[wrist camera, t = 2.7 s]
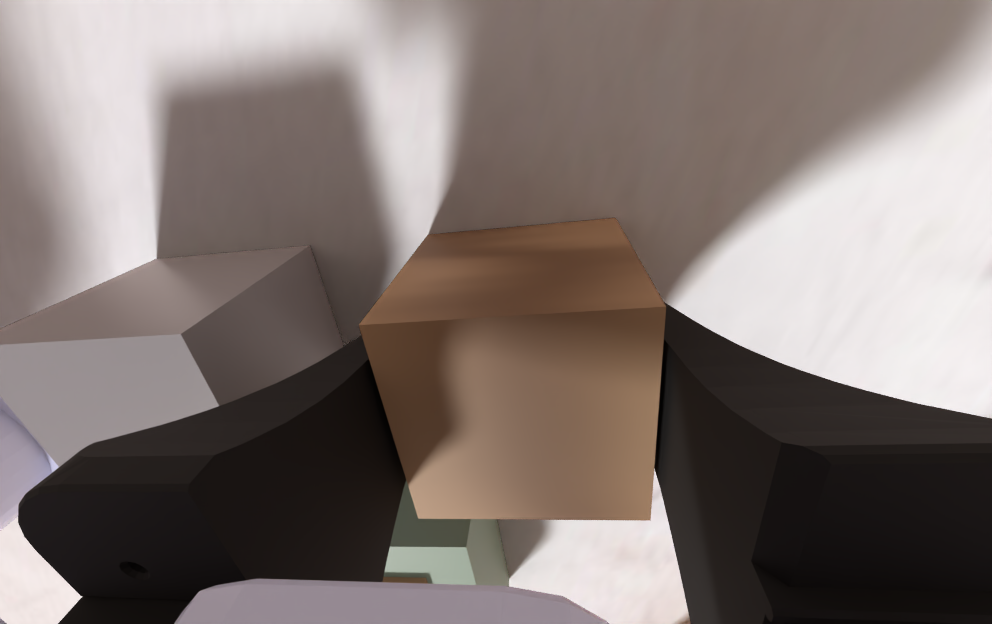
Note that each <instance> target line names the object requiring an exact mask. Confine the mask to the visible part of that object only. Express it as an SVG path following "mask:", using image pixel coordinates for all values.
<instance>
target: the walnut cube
mask: <svg viewBox="0 0 992 624" xmlns="http://www.w3.org/2000/svg"><path fill="white" fill-rule="evenodd" d="M665 316H666V305H665V304H664V302H663V300H662V298H661V297H660V295H659V293H658V291H657V290H656V288H655V286H654V284H653V283H652V281H651V279H650V277H649V276H648V274H647V272H646V270H645V269H644V267H643V265H642V263H641V261H640V260H639V258H638V256H637V254H636V253H635V251H634V249H633V247H632V246H631V244H630V242H629V240H628V239H627V237H626V235H625V233H624V232H623V230H622V228H621V226H620V225H619V223H618V221H617V219H616V218H608V219H596V220H585V221H574V222H563V223H552V224H541V225H530V226H519V227H507V228H496V229H485V230H474V231H463V232H452V233H441V234H430V235H427V237H426V238H425V239H424V241H423V242H422V243H421V244H420V246H419V247H418V248H417V250H416V251H415V252H414V254H413V255H412V256H411V257H410V259H409V260H408V261H407V263H406V264H405V265H404V267H403V268H402V269H401V270H400V272H399V273H398V274H397V276H396V277H395V278H394V280H393V281H392V282H391V283H390V285H389V286H388V287H387V289H386V290H385V291H384V293H383V294H382V295H381V297H380V298H379V299H378V300H377V302H376V303H375V304H374V306H373V307H372V308H371V310H370V311H369V312H368V313H367V315H366V316H365V317H364V319H363V320H362V321H361V323H360V324H359V328H360V332H361V335H362V338H363V341H364V345H365V348H366V351H367V354H368V357H369V361H370V364H371V367H372V370H373V374H374V377H375V380H376V383H377V387H378V390H379V393H380V396H381V400H382V403H383V406H384V409H385V412H386V416H387V419H388V422H389V425H390V429H391V432H392V435H393V438H394V442H395V445H396V448H397V451H398V454H399V458H400V461H401V464H402V467H403V471H404V474H405V477H406V480H407V484H408V487H409V490H410V493H411V497H412V500H413V503H414V506H415V509H416V513H417V516H418V519H536V520H650V518H651V504H652V491H653V477H654V464H655V450H656V437H657V424H658V410H659V397H660V383H661V370H662V356H663V343H664V329H665Z"/></svg>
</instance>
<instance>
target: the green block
mask: <svg viewBox="0 0 992 624" xmlns="http://www.w3.org/2000/svg"><path fill="white" fill-rule="evenodd" d="M383 582H389V583H422V584H456V585H490V586H509V576H508V571H507V566H506V561H505V556H504V551H503V546H502V541H501V536H500V531H499V526H498V521H497V519H418V516H417V513H416V509H415V506H414V503H413V500H412V497H411V493H410V490H409V487H408V484H407V480H406V482H405V486H404V489H403V493H402V497H401V501H400V505H399V509H398V513H397V517H396V521H395V526H394V530H393V535H392V539H391V544H390V548H389V553H388V557H387V562H386V567H385V572H384V577H383Z"/></svg>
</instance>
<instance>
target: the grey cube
mask: <svg viewBox="0 0 992 624" xmlns="http://www.w3.org/2000/svg"><path fill="white" fill-rule="evenodd" d="M342 347H344V345H343V342H342V339H341V336H340V333H339V330H338V327H337V324H336V321H335V318H334V315H333V312H332V309H331V306H330V303H329V300H328V297H327V294H326V291H325V288H324V285H323V282H322V279H321V276H320V273H319V270H318V267H317V264H316V261H315V258H314V255H313V252H312V249H311V246H310V245H307V246H296V247H284V248H273V249H262V250H250V251H239V252H228V253H216V254H205V255H194V256H182V257H171V258H160V259H155V260H153V261H151V262H148V263H146V264H144V265H142V266H139V267H137V268H135V269H133V270H130V271H128V272H126V273H124V274H122V275H119V276H117V277H115V278H113V279H110V280H108V281H106V282H104V283H101V284H99V285H97V286H95V287H93V288H90V289H88V290H86V291H84V292H81V293H79V294H77V295H75V296H72V297H70V298H68V299H66V300H64V301H61V302H59V303H57V304H55V305H52V306H50V307H48V308H46V309H43V310H41V311H39V312H37V313H34V314H32V315H30V316H28V317H26V318H23V319H21V320H19V321H17V322H14V323H12V324H10V325H8V326H5V327H3V328H1V329H0V397H1V398H2V399H3V400H4V402H5V403H6V404H7V405H8V406H9V408H10V409H11V410H12V411H13V412H14V414H15V415H16V416H17V417H18V418H19V420H20V421H21V422H22V423H23V424H24V426H25V427H26V428H27V429H28V430H29V432H30V433H31V434H32V435H33V436H34V438H35V439H36V440H37V441H38V442H39V444H40V445H41V446H42V447H43V448H44V450H45V451H46V452H47V453H48V454H49V455H50V457H51V458H52V459H53V460H54V461H55V463H56V464H57V465H58V466H59V467H60V466H61V465H63V464H64V463H65V462H66V461H68V460H69V459H70V458H71V457H73V456H74V455H75V454H76V453H78V452H79V451H80V450H82V449H83V448H85V447H87V446H88V445H90V444H92V443H94V442H98V441H102V440H107V439H111V438H114V437H118V436H122V435H125V434H129V433H133V432H137V431H140V430H144V429H148V428H151V427H155V426H159V425H162V424H166V423H169V422H172V421H176V420H179V419H182V418H185V417H188V416H191V415H194V414H198V413H201V412H204V411H207V410H209V409H212V408H215V407H218V406H221V405H223V404H226V403H229V402H232V401H234V400H237V399H239V398H242V397H244V396H246V395H249V394H251V393H254V392H256V391H258V390H261V389H263V388H266V387H268V386H271V385H273V384H275V383H277V382H280V381H282V380H284V379H286V378H288V377H290V376H292V375H294V374H296V373H298V372H300V371H302V370H304V369H306V368H308V367H310V366H312V365H313V364H315V363H317V362H319V361H321V360H322V359H324V358H326V357H327V356H329V355H331V354H332V353H334V352H336V351H337V350H339V349H341V348H342Z"/></svg>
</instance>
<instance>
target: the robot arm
mask: <svg viewBox="0 0 992 624" xmlns="http://www.w3.org/2000/svg"><path fill="white" fill-rule="evenodd" d="M664 304H665V305H666V316H665V329H664V343H663V356H662V370H661V383H660V397H659V410H658V424H657V437H656V450H655V464H654V468H655V472H656V475H657V478H658V481H659V485H660V488H661V492H662V496H663V500H664V505H665V509H666V513H667V517H668V521H669V525H670V530H671V534H672V539H673V543H674V547H675V552H676V556H677V561H678V565H679V570H680V574H681V579H682V584H683V588H684V593H685V598H686V603H687V607H688V612H689V617H690V622H691V624H992V419H991V418H986V417H981V416H976V415H971V414H966V413H961V412H956V411H951V410H946V409H941V408H936V407H931V406H926V405H921V404H917V403H913V402H908V401H904V400H900V399H897V398H893V397H889V396H885V395H881V394H877V393H873V392H869V391H865V390H862V389H858V388H855V387H851V386H848V385H844V384H841V383H837V382H834V381H831V380H828V379H825V378H822V377H819V376H816V375H813V374H810V373H807V372H804V371H801V370H798V369H795V368H793V367H790V366H787V365H784V364H782V363H779V362H777V361H774V360H772V359H770V358H767V357H765V356H762V355H760V354H758V353H755V352H753V351H751V350H748V349H746V348H744V347H742V346H740V345H738V344H736V343H734V342H732V341H730V340H728V339H726V338H724V337H722V336H720V335H718V334H716V333H714V332H713V331H711V330H709V329H707V328H706V327H704V326H702V325H700V324H699V323H697V322H695V321H694V320H692V319H690V318H689V317H687V316H685V315H684V314H682V313H681V312H679V311H677V310H676V309H674V308H673V307H671V306H670V305H668V304H666V303H665V302H664ZM405 482H406V477H405V474H404V471H403V467H402V464H401V461H400V458H399V454H398V451H397V448H396V445H395V442H394V438H393V435H392V432H391V429H390V425H389V422H388V419H387V416H386V412H385V409H384V406H383V403H382V400H381V396H380V393H379V390H378V387H377V383H376V380H375V377H374V374H373V370H372V367H371V364H370V361H369V357H368V354H367V351H366V348H365V345H364V341H363V338H362V335H361V336H360V337H358V338H357V339H355V340H354V341H352V342H351V343H349V344H347V345H346V346H344V347H342V348H341V349H339V350H337V351H336V352H334V353H332V354H331V355H329V356H327V357H326V358H324V359H322V360H321V361H319V362H317V363H315V364H313V365H312V366H310V367H308V368H306V369H304V370H302V371H300V372H298V373H296V374H294V375H292V376H290V377H288V378H286V379H284V380H282V381H280V382H277V383H275V384H273V385H271V386H268V387H266V388H263V389H261V390H258V391H256V392H254V393H251V394H249V395H246V396H244V397H242V398H239V399H237V400H234V401H232V402H229V403H226V404H223V405H221V406H218V407H215V408H212V409H209V410H207V411H204V412H201V413H198V414H194V415H191V416H188V417H185V418H182V419H179V420H176V421H172V422H169V423H166V424H162V425H159V426H155V427H151V428H148V429H144V430H140V431H137V432H133V433H129V434H125V435H122V436H118V437H114V438H111V439H107V440H102V441H98V442H94V443H92V444H90V445H88V446H87V447H85V448H83V449H82V450H80V451H79V452H78V453H76V454H75V455H74V456H73V457H71V458H70V459H69V460H68V461H66V462H65V463H64V464H63V465H61V466H60V467H59V466H58V465H57V464H56V463H55V461H54V460H53V459H52V458H51V457H50V455H49V454H48V453H47V452H46V451H45V450H44V448H43V447H42V446H41V445H40V444H39V442H38V441H37V440H36V439H35V438H34V436H33V435H32V434H31V433H30V432H29V430H28V429H27V428H26V427H25V426H24V424H23V423H22V422H21V421H20V420H19V418H18V417H17V416H16V415H15V414H14V412H13V411H12V410H11V409H10V408H9V406H8V405H7V404H6V403H5V402H4V400H3V399H2V398H1V397H0V531H1V530H2V529H3V528H4V527H6V526H7V525H8V524H9V523H10V522H12V521H13V520H14V519H15V518H17V517H18V523H19V525H20V528H21V530H22V532H23V534H24V537H25V538H26V539H27V540H28V541H29V543H30V544H31V545H32V546H33V548H34V549H35V550H36V551H37V552H38V553H39V554H40V555H41V556H42V557H43V558H44V559H45V560H46V561H47V562H48V563H49V564H50V565H51V566H52V567H53V568H54V569H55V570H56V571H57V572H58V573H59V574H60V575H61V576H62V577H63V578H64V579H65V580H66V581H67V582H68V583H69V584H70V585H71V586H72V587H73V588H74V589H75V590H76V591H77V592H78V593H79V594H80V595H81V596H83V597H82V598H81V599H80V600H79V601H78V602H77V603H76V605H75V606H74V607H73V608H72V609H71V610H70V611H69V612H68V613H67V614H66V616H65V617H64V618H63V619H62V620H61V621H60V622H59V623H58V624H609V623H608V622H606V621H605V620H603V619H602V618H600V617H598V616H596V615H595V614H593V613H591V612H589V611H588V610H586V609H584V608H582V607H581V606H579V605H577V604H576V603H574V602H572V601H570V600H569V599H567V598H565V597H563V596H558V595H553V594H547V593H542V592H536V591H531V590H525V589H520V588H514V587H509V586H490V585H456V584H422V583H389V582H383V577H384V572H385V567H386V562H387V557H388V553H389V548H390V544H391V539H392V535H393V530H394V526H395V521H396V517H397V513H398V509H399V505H400V501H401V497H402V493H403V489H404V486H405ZM0 624H6V623H5V622H4V621H3V620H2V619H0Z"/></svg>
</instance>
